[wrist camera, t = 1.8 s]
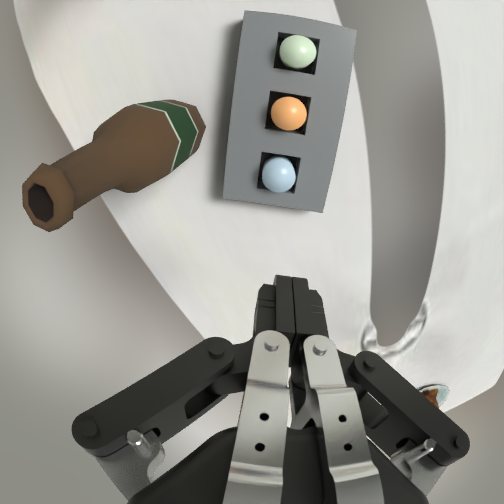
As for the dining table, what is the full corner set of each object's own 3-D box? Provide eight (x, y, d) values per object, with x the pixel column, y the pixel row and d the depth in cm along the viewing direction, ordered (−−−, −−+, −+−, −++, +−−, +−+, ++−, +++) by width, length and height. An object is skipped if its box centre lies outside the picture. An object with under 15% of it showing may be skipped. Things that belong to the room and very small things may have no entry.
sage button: (281, 38, 23) (282, 32, 21) (313, 43, 23) (318, 38, 21) (277, 66, 25) (277, 63, 23) (309, 72, 25) (313, 69, 23)
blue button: (265, 152, 31) (264, 158, 28) (295, 157, 31) (298, 163, 28) (260, 181, 33) (259, 189, 30) (290, 186, 33) (292, 194, 30)
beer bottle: (209, 156, 33) (113, 272, 13) (151, 160, 33) (22, 265, 13) (206, 95, 29) (78, 112, 8) (146, 103, 29) (-13, 148, 9)
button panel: (246, 17, 23) (244, 10, 21) (349, 35, 23) (356, 30, 21) (226, 190, 35) (222, 198, 33) (318, 203, 35) (322, 213, 33)
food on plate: (363, 408, 66) (366, 428, 60) (441, 370, 56) (448, 389, 51) (388, 426, 75) (391, 441, 70) (451, 396, 66) (456, 411, 60)
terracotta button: (273, 94, 27) (273, 94, 24) (305, 99, 27) (309, 100, 25) (269, 124, 29) (268, 127, 26) (300, 129, 29) (303, 133, 26)
